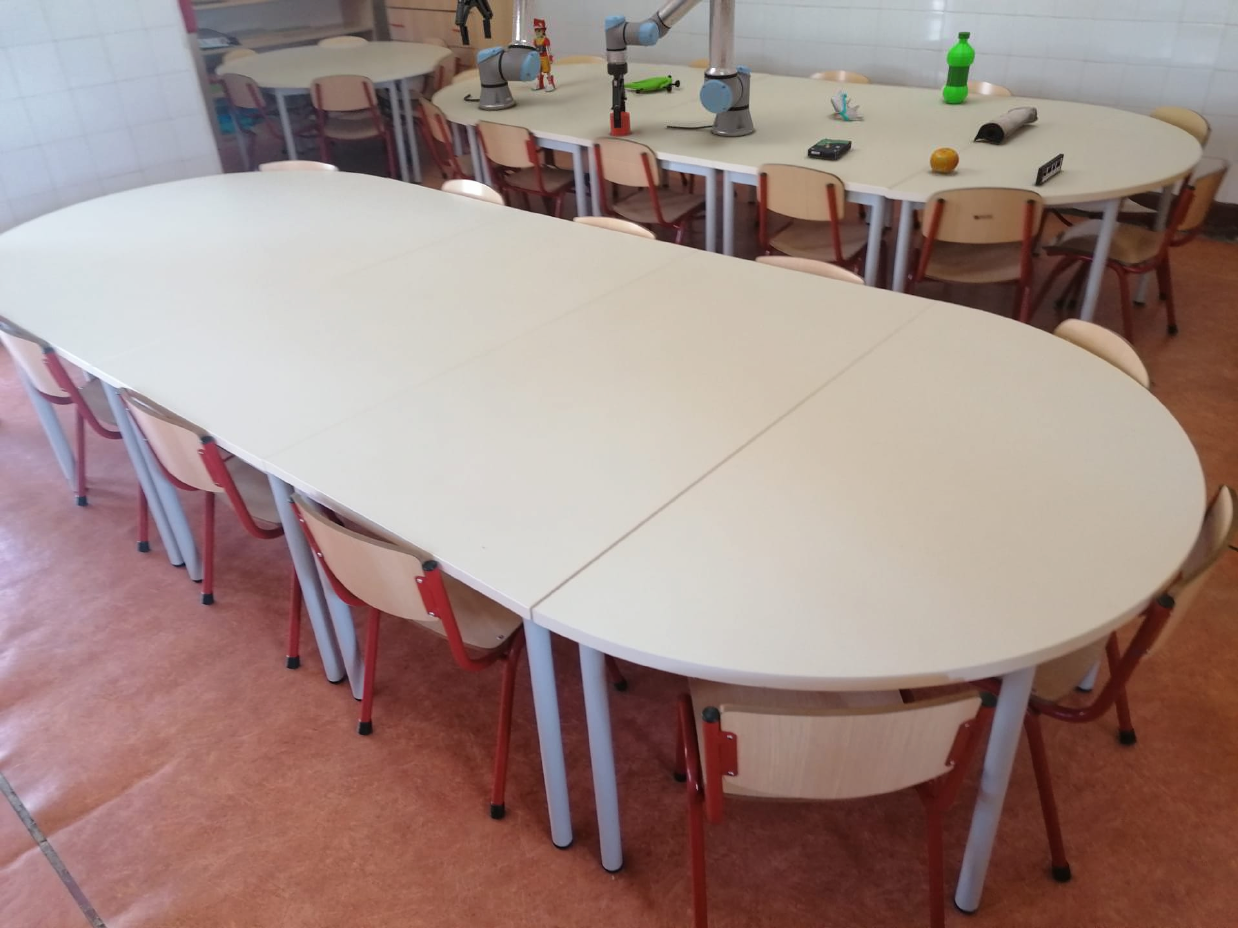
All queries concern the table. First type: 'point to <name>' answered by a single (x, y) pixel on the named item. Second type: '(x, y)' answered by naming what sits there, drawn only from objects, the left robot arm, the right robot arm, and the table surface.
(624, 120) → the canister
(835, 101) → the anatomical model
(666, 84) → the toy
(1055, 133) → the table surface
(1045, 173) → the midi keyboard
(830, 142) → the disk drive
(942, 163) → the fruit
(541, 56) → the toy
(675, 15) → the right robot arm
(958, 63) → the plastic bottle
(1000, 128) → the rolled mat
